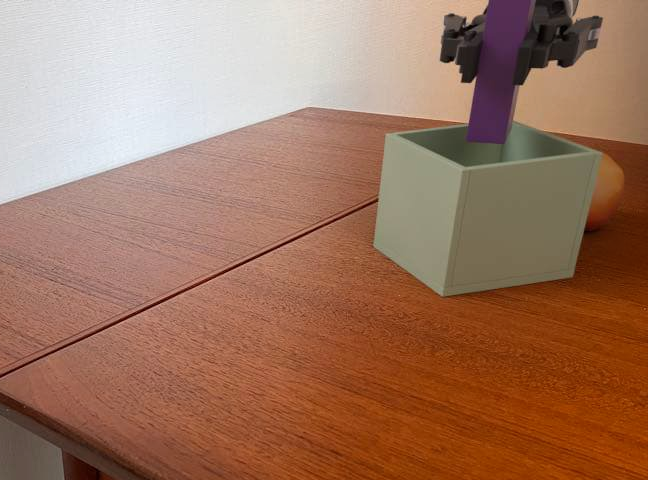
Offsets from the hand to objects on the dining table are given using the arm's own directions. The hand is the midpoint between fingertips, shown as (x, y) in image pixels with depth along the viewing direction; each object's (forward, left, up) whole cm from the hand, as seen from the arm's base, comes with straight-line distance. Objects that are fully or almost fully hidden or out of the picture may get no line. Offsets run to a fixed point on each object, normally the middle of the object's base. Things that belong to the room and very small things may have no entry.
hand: (494, 65), depth 65 cm
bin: (-4, -4, -18) cm, 19 cm away
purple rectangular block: (-4, -4, -7) cm, 9 cm away
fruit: (-18, -9, -18) cm, 27 cm away
